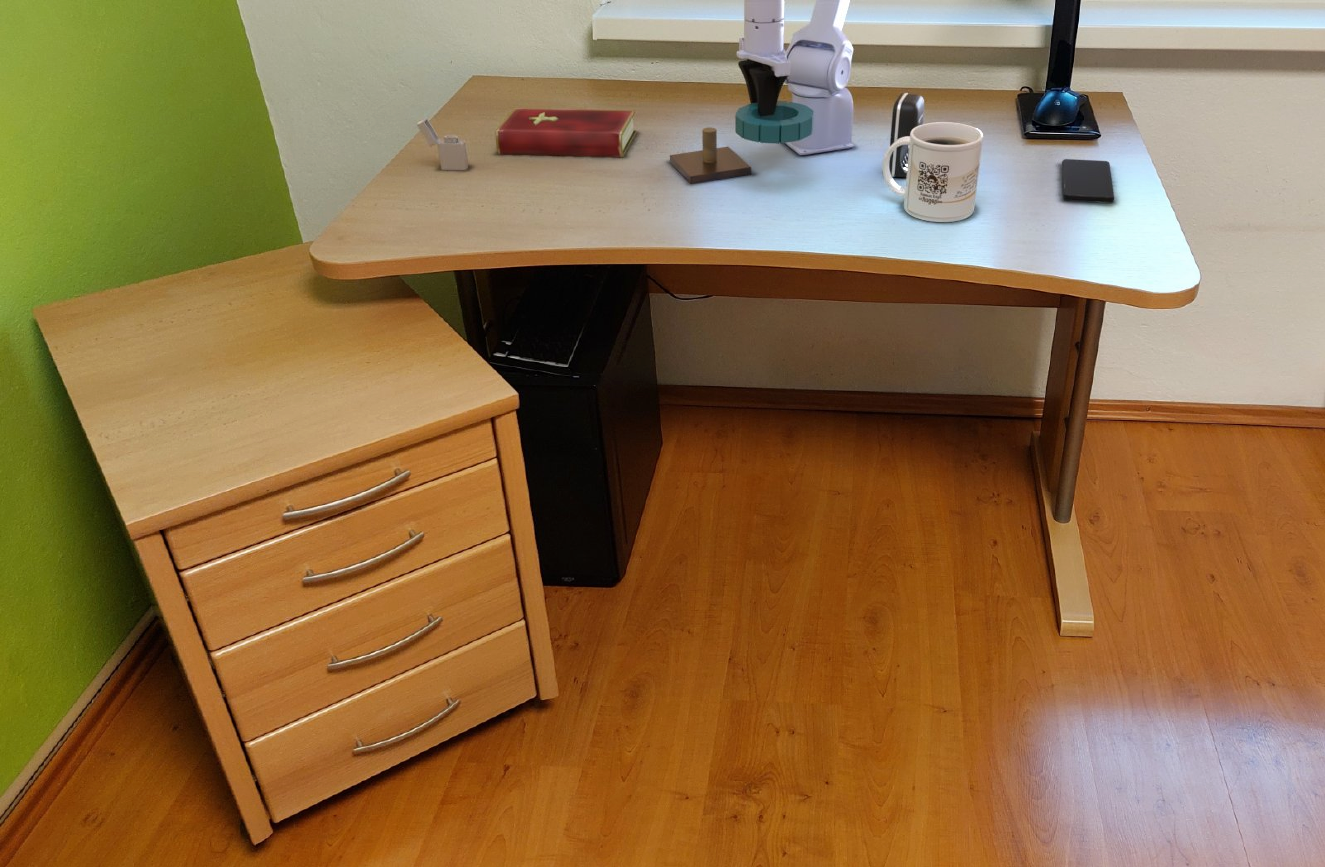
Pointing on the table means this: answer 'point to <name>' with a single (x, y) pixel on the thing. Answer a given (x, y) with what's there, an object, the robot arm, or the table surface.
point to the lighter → (446, 147)
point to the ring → (775, 123)
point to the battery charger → (904, 129)
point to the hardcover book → (566, 132)
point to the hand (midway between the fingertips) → (762, 112)
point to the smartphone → (1087, 180)
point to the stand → (710, 161)
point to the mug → (939, 171)
